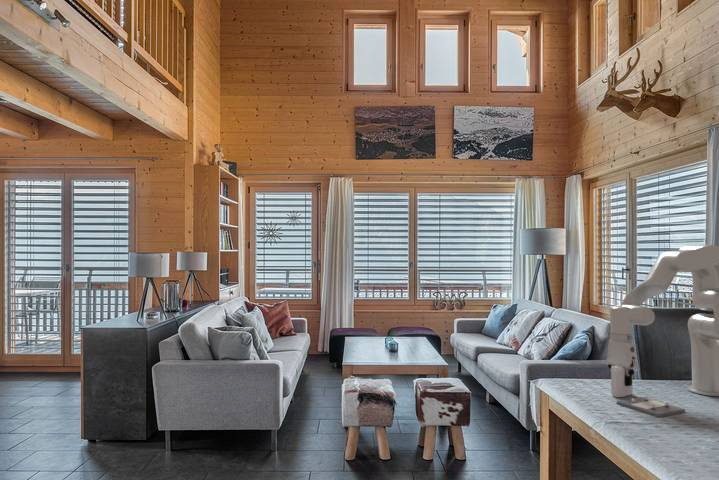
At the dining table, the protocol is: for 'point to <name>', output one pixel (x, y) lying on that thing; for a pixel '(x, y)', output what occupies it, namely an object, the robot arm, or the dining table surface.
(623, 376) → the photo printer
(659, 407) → the tray
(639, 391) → the dining table surface
